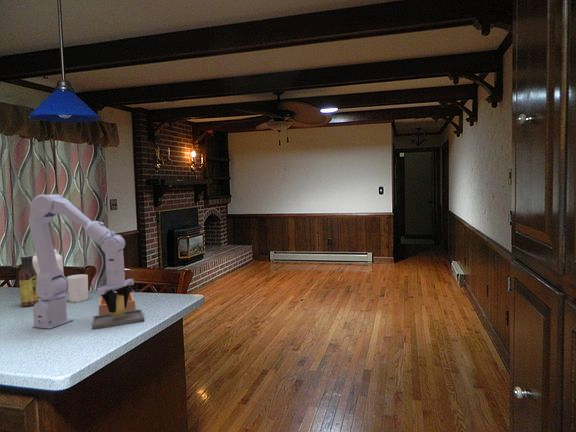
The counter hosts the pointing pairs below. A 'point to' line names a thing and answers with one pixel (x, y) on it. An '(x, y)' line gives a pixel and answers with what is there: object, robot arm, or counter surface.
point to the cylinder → (119, 306)
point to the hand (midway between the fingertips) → (117, 310)
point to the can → (58, 258)
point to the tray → (117, 319)
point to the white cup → (78, 287)
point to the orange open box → (104, 309)
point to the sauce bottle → (28, 282)
